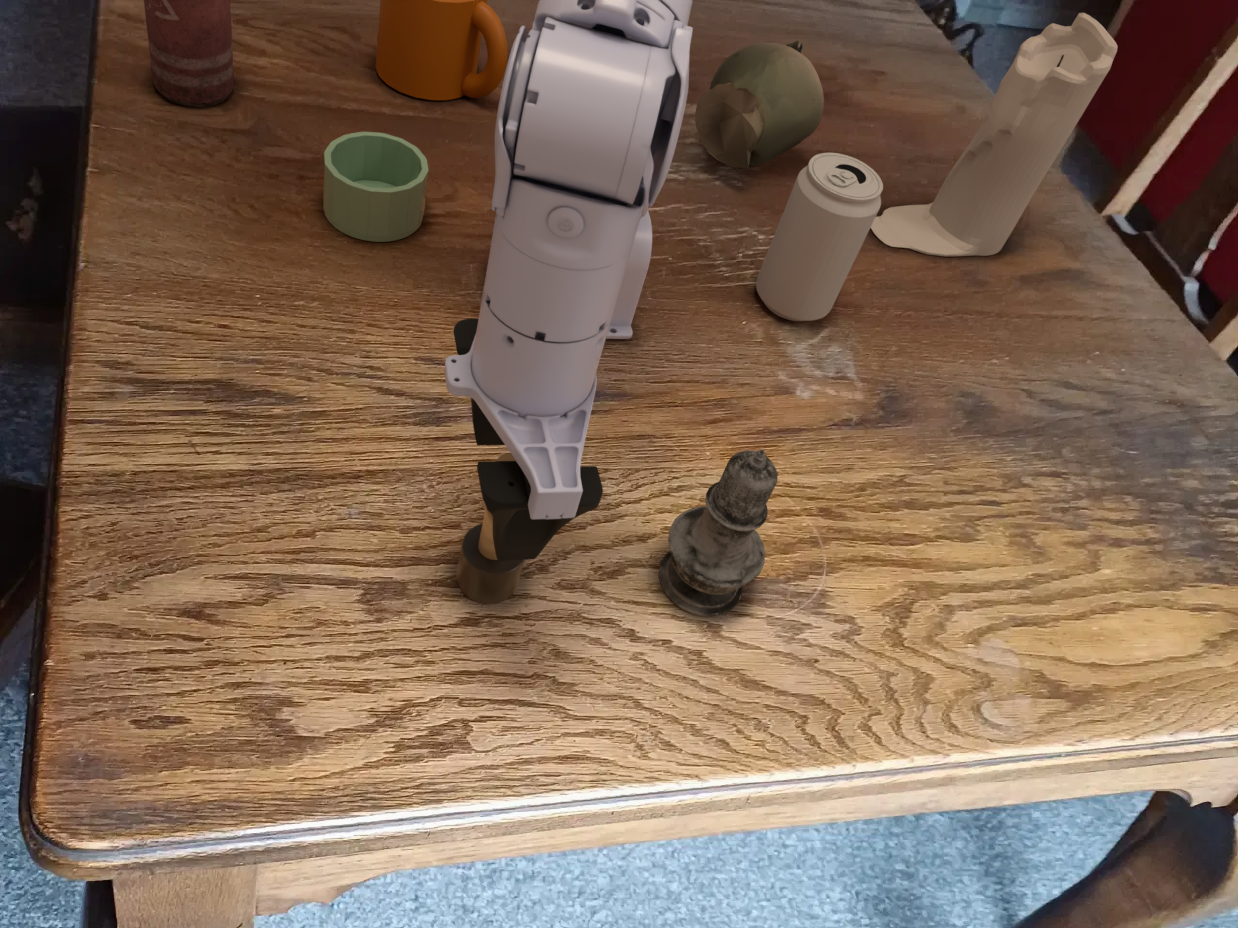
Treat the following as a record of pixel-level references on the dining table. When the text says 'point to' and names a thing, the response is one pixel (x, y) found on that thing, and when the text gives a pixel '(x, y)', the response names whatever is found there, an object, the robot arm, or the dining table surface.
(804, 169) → the beverage can
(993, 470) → the dining table surface
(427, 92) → the mug
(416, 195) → the pot
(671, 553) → the chess piece
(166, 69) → the can
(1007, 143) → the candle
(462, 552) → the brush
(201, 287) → the dining table surface
